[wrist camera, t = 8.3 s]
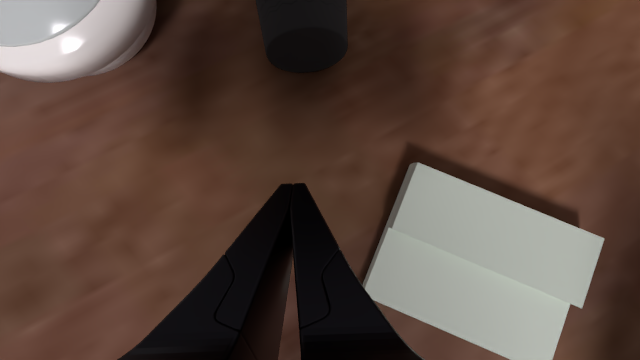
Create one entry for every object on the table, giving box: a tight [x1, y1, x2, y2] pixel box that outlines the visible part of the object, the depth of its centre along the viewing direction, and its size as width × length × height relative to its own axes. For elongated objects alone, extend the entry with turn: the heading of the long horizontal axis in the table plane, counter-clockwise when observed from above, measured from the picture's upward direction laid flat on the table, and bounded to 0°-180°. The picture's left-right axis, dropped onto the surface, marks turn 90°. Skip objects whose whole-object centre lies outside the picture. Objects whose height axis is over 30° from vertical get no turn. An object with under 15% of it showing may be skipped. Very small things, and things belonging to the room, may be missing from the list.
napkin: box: [362, 162, 604, 360], centre depth 16 cm, size 12×9×2 cm
